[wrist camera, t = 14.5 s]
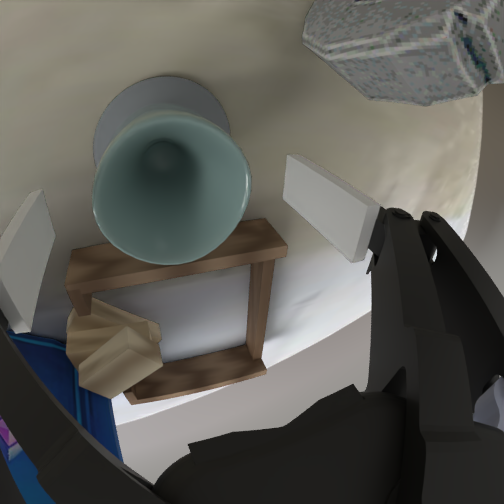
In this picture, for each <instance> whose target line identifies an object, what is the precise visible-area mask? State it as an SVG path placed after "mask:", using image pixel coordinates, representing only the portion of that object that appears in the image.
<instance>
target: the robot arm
mask: <svg viewBox="0 0 504 504" xmlns="http://www.w3.org/2000/svg"><path fill="white" fill-rule="evenodd" d="M283 200H285V201H286V202H287V203H288V204H289V205H290V206H291V207H292V208H293V209H295V210H296V211H297V212H298V213H299V214H300V215H301V216H302V217H303V218H304V219H306V220H307V221H308V222H309V223H310V224H311V225H312V226H313V227H314V228H315V229H316V230H317V231H318V232H320V233H321V234H322V235H323V236H324V237H325V238H326V239H327V240H328V241H329V242H330V243H331V244H332V245H333V246H334V247H335V248H336V249H337V250H338V251H339V252H341V253H342V254H343V255H344V256H345V257H346V258H347V259H348V260H349V261H350V262H351V263H355V262H359V261H362V260H364V259H365V256H366V253H367V250H368V248H369V249H370V250H371V251H372V252H373V255H372V258H371V261H370V264H369V267H368V270H367V272H366V274H369V272H370V271H371V287H372V315H371V316H372V317H371V347H370V363H369V377H368V384H367V387H366V390H365V392H359V391H358V390H357V389H356V387H355V386H354V384H352V385H350V386H348V387H345V388H343V389H341V390H339V391H337V392H335V393H333V394H331V395H329V396H327V397H324V398H322V399H320V400H318V401H317V402H316V403H315V404H313V405H312V406H311V407H310V408H308V409H307V410H306V411H304V412H303V413H302V414H301V415H299V416H298V417H297V418H295V419H294V420H292V421H291V422H290V423H288V424H287V425H285V426H283V427H279V428H271V429H262V430H251V431H239V432H231V433H228V434H224V435H221V436H217V437H214V438H210V439H206V440H202V441H198V442H194V443H190V444H188V446H189V449H190V452H191V453H189V454H187V455H185V456H184V457H182V458H180V459H179V460H177V461H176V462H175V463H173V464H172V465H171V466H170V467H168V468H167V469H166V470H165V471H164V472H163V473H162V475H161V476H160V477H159V478H158V480H157V481H156V483H155V484H154V485H153V484H152V483H151V482H149V481H148V480H146V479H145V478H143V477H142V476H141V475H139V474H138V473H136V472H135V471H134V470H132V469H131V468H129V467H128V466H127V465H125V464H124V463H123V462H122V461H120V460H119V459H118V458H117V457H115V456H114V455H113V454H112V453H111V452H110V451H108V450H107V449H106V448H105V447H104V446H103V445H102V444H100V443H99V442H98V441H97V440H96V439H95V438H94V437H93V436H92V435H91V434H90V433H89V432H88V431H87V430H86V429H85V428H83V427H82V426H81V425H80V424H79V423H78V421H77V420H76V419H75V418H74V417H73V416H72V415H71V414H70V413H69V412H68V411H67V410H66V409H65V408H64V407H63V406H62V404H61V403H60V402H59V401H58V400H57V399H56V398H55V397H54V395H53V394H52V393H51V392H50V391H49V389H48V388H47V387H46V386H45V385H44V383H43V382H42V381H41V380H40V378H39V377H38V376H37V374H36V373H35V372H34V370H33V369H32V368H31V366H30V365H29V364H28V362H27V361H26V360H25V358H24V357H23V355H22V354H21V352H20V351H19V350H18V348H17V347H16V345H15V344H14V342H13V341H12V339H11V337H10V336H9V335H8V333H7V332H6V330H7V326H8V323H9V325H10V326H11V328H12V329H13V331H14V332H15V334H18V333H25V332H31V328H32V323H33V318H34V313H35V308H36V304H37V299H38V295H39V291H40V287H41V283H42V279H43V276H44V272H45V269H46V265H47V262H48V259H49V255H50V252H51V249H52V246H53V243H54V240H55V237H56V235H55V232H54V229H53V226H52V222H51V219H50V215H49V212H48V208H47V204H46V200H45V196H44V192H43V189H40V190H36V191H33V192H30V193H29V195H28V196H27V197H26V199H25V200H24V202H23V203H22V205H21V206H20V208H19V209H18V211H17V212H16V214H15V215H14V217H13V218H12V220H11V221H10V223H9V225H8V226H7V228H6V230H5V231H4V233H3V235H2V236H1V238H0V416H1V417H2V419H3V421H4V422H5V424H6V426H7V427H8V429H9V430H10V432H11V433H12V435H13V436H14V438H15V439H16V441H17V442H18V444H19V445H20V447H21V448H22V449H23V451H24V452H25V454H26V455H27V456H28V458H29V459H30V460H31V462H32V463H33V464H34V465H35V467H36V468H37V470H38V474H37V476H36V478H37V480H38V482H39V484H40V485H41V487H42V488H43V489H44V491H45V492H46V493H47V494H48V495H49V496H50V497H51V499H52V500H53V501H54V502H55V503H56V504H504V297H503V296H502V294H501V293H500V291H499V290H498V288H497V287H496V285H495V284H494V282H493V281H492V279H491V278H490V276H489V275H488V274H487V272H486V271H485V269H484V268H483V267H482V265H481V264H480V263H479V261H478V260H477V259H476V257H475V256H474V255H473V253H472V252H471V251H470V249H469V248H468V247H467V246H466V244H465V243H464V242H463V241H462V239H461V238H460V237H459V236H458V235H457V233H456V232H455V231H454V230H453V229H452V227H451V226H450V225H449V224H448V223H447V222H446V221H445V219H443V218H442V217H441V216H440V215H439V214H437V213H435V212H429V211H424V212H423V213H422V216H421V219H420V221H419V220H414V219H413V217H412V216H411V215H410V214H409V213H407V212H406V211H404V210H402V209H399V208H388V209H384V208H383V207H381V206H380V204H379V203H377V202H376V201H374V200H373V199H371V198H370V197H368V196H367V195H365V194H364V193H362V192H361V191H359V190H358V189H356V188H355V187H353V186H352V185H350V184H348V183H347V182H345V181H344V180H342V179H340V178H339V177H337V176H335V175H334V174H332V173H330V172H329V171H327V170H325V169H324V168H322V167H320V166H319V165H317V164H315V163H314V162H312V161H310V160H308V159H307V158H305V157H303V156H301V155H299V154H288V155H287V161H286V171H285V180H284V190H283ZM436 249H437V257H436V259H435V262H434V261H433V260H432V258H433V256H434V253H435V251H436ZM499 375H500V376H501V377H500V378H499ZM0 504H26V502H25V500H24V498H23V496H22V495H21V493H20V491H19V489H18V487H17V485H16V483H15V481H14V479H13V477H12V474H11V472H10V470H9V468H8V465H7V463H6V461H5V458H4V456H3V454H2V451H1V448H0Z"/></svg>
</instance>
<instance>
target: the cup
mask: <svg viewBox="0 0 504 504" xmlns="http://www.w3.org/2000/svg"><path fill="white" fill-rule="evenodd" d="M251 180H252V177H251V172H250V168H249V164H248V161H247V160H246V158H245V156H244V154H243V152H242V150H241V148H240V147H239V146H238V145H237V144H236V142H235V141H234V140H233V139H232V138H231V136H230V135H229V134H227V133H226V132H225V131H224V130H223V129H221V128H220V127H219V126H218V125H216V124H215V123H214V122H212V121H211V120H209V119H208V118H206V117H205V116H203V115H201V114H199V113H197V112H195V111H193V110H191V109H189V108H187V107H184V106H180V105H177V104H170V103H157V104H150V105H148V106H145V107H143V108H140V109H138V110H137V111H135V112H134V113H132V114H131V115H130V116H128V117H127V118H126V119H125V120H124V121H123V122H122V123H121V124H120V125H119V127H118V128H117V129H116V131H115V132H114V134H113V135H112V137H111V138H110V140H109V142H108V144H107V146H106V148H105V150H104V152H103V155H102V157H101V160H100V162H99V164H98V167H97V170H96V173H95V177H94V183H93V188H92V209H93V213H94V216H95V220H96V223H97V225H98V227H99V228H100V230H101V232H102V233H103V235H104V236H105V237H106V238H107V239H108V240H109V241H110V242H111V243H112V245H114V246H115V247H117V248H118V249H119V250H121V251H122V252H124V253H125V254H128V255H130V256H132V257H134V258H136V259H139V260H142V261H145V262H149V263H154V264H161V265H178V264H183V263H188V262H192V261H194V260H196V259H199V258H201V257H203V256H205V255H207V254H208V253H210V252H211V251H213V250H214V249H216V248H217V247H218V246H219V245H220V244H221V243H222V242H224V241H225V240H226V239H227V237H228V236H229V235H230V234H231V233H232V232H233V230H234V229H235V228H236V226H237V224H238V223H239V221H240V220H241V218H242V217H243V214H244V212H245V210H246V207H247V205H248V202H249V198H250V194H251Z"/></svg>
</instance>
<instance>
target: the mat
mask: <svg viewBox="0 0 504 504" xmlns="http://www.w3.org/2000/svg"><path fill="white" fill-rule="evenodd" d="M157 103H170V104H177V105H180V106H184V107H187V108H189V109H191V110H193V111H195V112H197V113H199V114H201V115H203V116H205V117H206V118H208V119H209V120H211V121H212V122H214V123H215V124H216V125H218V126H219V127H220V128H221V129H223V130H224V131H225V132H226V133H227V134H229V135H230V128H229V123H228V120H227V116H226V114H225V112H224V110H223V108H222V106H221V104H220V103H219V102H218V100H217V99H216V98H215V97H214V96H213V95H212V94H211V93H210V92H209V91H208V90H207V89H205V88H204V87H202V86H201V85H199V84H197V83H195V82H193V81H190V80H187V79H183V78H179V77H171V76H167V77H155V78H150V79H146V80H143V81H140V82H138V83H136V84H134V85H132V86H130V87H128V88H127V89H125V90H124V91H122V92H121V93H120V94H119V95H118V96H116V97H115V98H114V99H113V101H112V102H111V103H110V104H109V105H108V106H107V108H106V109H105V111H104V112H103V114H102V116H101V118H100V120H99V122H98V125H97V127H96V131H95V135H94V142H93V154H94V160H95V165H96V168H97V167H98V164H99V162H100V160H101V157H102V155H103V152H104V150H105V148H106V146H107V144H108V142H109V140H110V138H111V137H112V135H113V134H114V132H115V131H116V129H117V128H118V127H119V125H120V124H121V123H122V122H123V121H124V120H125V119H126V118H127V117H128V116H130V115H131V114H132V113H134V112H135V111H137V110H138V109H140V108H143V107H145V106H148V105H150V104H157Z"/></svg>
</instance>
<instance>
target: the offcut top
mask: <svg viewBox="0 0 504 504" xmlns="http://www.w3.org/2000/svg"><path fill="white" fill-rule="evenodd" d="M162 366H163V363H162V358H161V353H160V348H159V344H157V343H155V342H153V341H152V340H150V339H148V338H146V337H145V336H143V335H141V334H140V333H138V332H136V331H135V330H133V329H131V328H130V327H128V326H126V327H125V328H124V329H122V330H121V331H120V332H119V333H117V334H116V335H115V336H114V337H113V338H111V339H110V340H109V341H108V342H106V343H105V344H104V345H103V346H101V347H100V348H99V349H98V350H97V351H95V352H94V353H93V354H92V355H90V356H89V357H88V358H87V359H86V360H84V361H83V362H82V363H81V364H80V365H79V386H80V387H83V388H85V389H87V390H90V391H92V392H94V393H97V394H99V395H102V396H104V397H107V398H109V399H112V398H114V397H115V396H117V395H119V394H120V393H122V392H123V391H125V390H127V389H128V388H130V387H131V386H133V385H134V384H136V383H137V382H139V381H141V380H142V379H144V378H145V377H147V376H148V375H150V374H151V373H153V372H154V371H156V370H157V369H159V368H161V367H162Z"/></svg>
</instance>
